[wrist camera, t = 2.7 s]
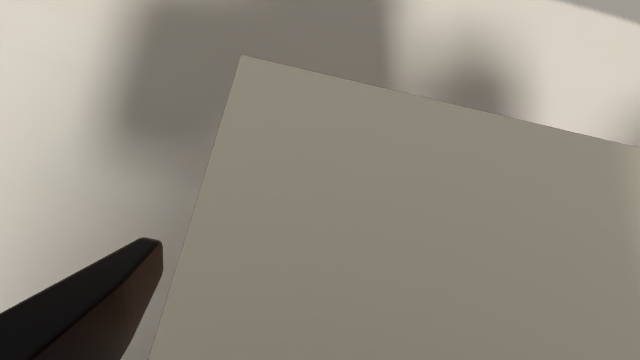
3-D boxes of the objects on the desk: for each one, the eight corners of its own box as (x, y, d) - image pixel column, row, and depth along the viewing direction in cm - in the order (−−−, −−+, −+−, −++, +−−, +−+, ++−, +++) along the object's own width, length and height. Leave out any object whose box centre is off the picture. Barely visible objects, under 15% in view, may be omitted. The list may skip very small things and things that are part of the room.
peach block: (372, 368, 15) (807, 918, 2) (252, 341, 15) (24, 768, 2) (392, 246, 16) (748, 172, 4) (281, 221, 16) (240, 55, 3)
